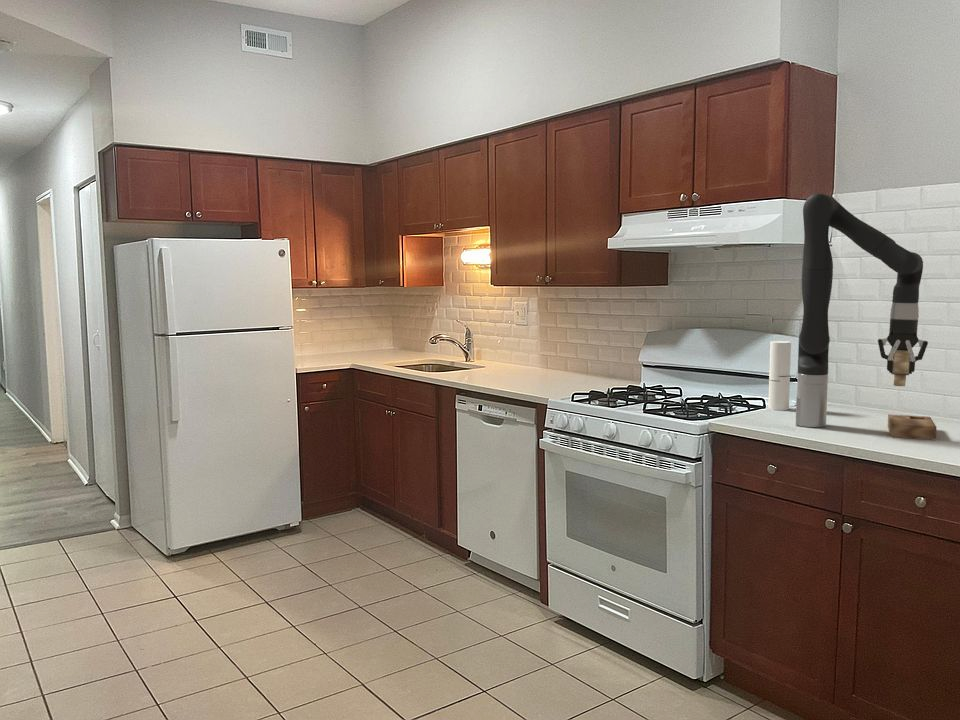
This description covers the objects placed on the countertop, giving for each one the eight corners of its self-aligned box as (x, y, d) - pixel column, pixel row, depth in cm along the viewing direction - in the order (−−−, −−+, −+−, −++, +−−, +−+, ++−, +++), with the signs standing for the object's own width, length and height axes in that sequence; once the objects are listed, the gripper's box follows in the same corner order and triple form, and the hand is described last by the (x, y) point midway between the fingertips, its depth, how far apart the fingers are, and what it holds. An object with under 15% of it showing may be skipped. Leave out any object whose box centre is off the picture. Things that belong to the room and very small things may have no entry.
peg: (890, 386, 241) (893, 350, 240) (889, 384, 245) (892, 349, 244) (909, 387, 239) (911, 351, 238) (907, 385, 243) (910, 349, 242)
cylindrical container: (790, 410, 288) (792, 342, 286) (769, 410, 290) (772, 342, 287) (786, 407, 295) (789, 341, 293) (766, 406, 297) (769, 341, 294)
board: (890, 436, 241) (891, 423, 241) (887, 426, 257) (888, 414, 257) (935, 439, 236) (936, 426, 236) (929, 429, 252) (930, 416, 252)
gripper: (929, 318, 240) (925, 373, 242) (877, 316, 246) (873, 370, 248) (932, 319, 233) (928, 376, 235) (878, 317, 239) (874, 373, 241)
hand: (900, 372), depth 242 cm, fingers closed on peg, 4 cm apart
